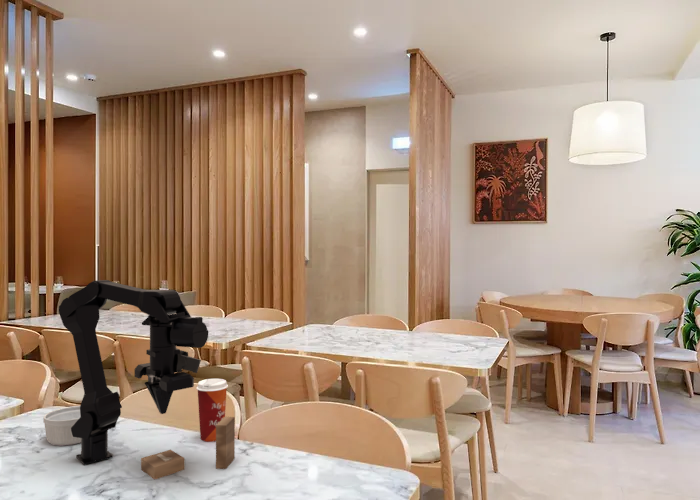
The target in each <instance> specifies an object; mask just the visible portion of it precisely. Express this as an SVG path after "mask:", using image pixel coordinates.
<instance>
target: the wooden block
mask: <svg viewBox="0 0 700 500" xmlns="http://www.w3.org/2000/svg"><path fill="white" fill-rule="evenodd" d="M235 423H236V418H235V416H225V417H224V418H223V419H222V420H221V421H220V422H219V423H218V424H217V425H216V441H215V469H217V470H227V469H228V468H229V466H231V464H232V463H233V462H234V460H235V458H236V457H235V455H236V452H235V448H236V444H235V440H236V437H235V436H236V434H235V433H236V432H235V431H236V429H235V427H236V425H235Z"/></svg>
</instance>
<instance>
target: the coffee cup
mask: <svg viewBox="0 0 700 500" xmlns="http://www.w3.org/2000/svg"><path fill="white" fill-rule="evenodd" d="M228 387H229V385H228V383H227V380H226V379H223V378H206V379H203V380H199V381H198V383H197V386H196V388H195V389H196V390H197V398H198V399H197V401H198V402H197V403H198V404H197V405H198V419H199V420H198V421H199V435H200V440H201V441H202V442H205V443H206V442H207V443H209V442H211V443H213V442H216V425H217V424H218V423H219V422H220V421H221V420H222V419H223V418H224V417H226V406H227V388H228Z"/></svg>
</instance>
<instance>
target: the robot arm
mask: <svg viewBox="0 0 700 500" xmlns="http://www.w3.org/2000/svg"><path fill="white" fill-rule="evenodd" d="M107 301H113V302H118V303H121V304H125V305H130V306H133V307H136V308H138V310H140V312H142V313H144V314H146V315H148V316H147V317H146V318H145V319H144V320H143V321H142V322H141V325H142V326H149V349H146V355H147V356H149V362H148V363H140V364H137V366H135V368H134V378H136V379H142V377H143V376H146V377H147V381H145V382H144V386H145V387H146V388H147V390H148V393H149V394H150V396H151V398H152V400H153V402H154V404H155V406H156V408H157V410H158V412H159V414H161V415H164V414H166V413H167V411H168V409H169V408H168V407H169V404H170V402H171V398H172V395H173V393H174V391H180V390H185V389H190V388H191V389H192V388H193V387H194V386H195V384H194V383H195V380H194V379H195V377H194V376H192V374H190V373H187V372H185V371H189V372H192V373H194V374H197V373H198V371H199V368H200V364H201V362H202V360H201V359H200V358H197V357H192V356H190V355H189V351H185V350H180V347H181V348H195V349H201V348H203V347H204V346H205V345H206V344H207V341H208V339H209V330H208V326H207V325H206V324H205V323H204V322H203V317H202V316H195V317H191V314H190V312H189V311H188V309H187V308H186V306H185V304H184V303H183V301H182V300H181V296H180V295H179V292H178V291H176V290H174V289H144V288H140V287H137V286H136V287H135V286H131V285H127V284H121V283H118V282H113V281H111V280H109V279H103V280H102V279H100V280H99V279H98V280H92V281H91V282H89V283H88V284H86V286H85V287H84V288H81V289H79V290H77V291H76V292H73V293H72V294H70V295H69V297H66V298H64V299H63V300H62V301H61V303H60V305H58V312H59V316H60V319H61V322H62V324H63V326H64V328H65V329H66V330H67V331H68V332H70V334H72V338H73V343H74V348H75V353H76V358H77V362H78V368H79V373H80V378H81V383H82V387H83V393H84V394H83V397H82V399H81V403H80V405H79V406H80V416H81V417H80V418H79V419H78V421H77V422H76V423H75V424H74V425H73V426H72V427H71V432H72V435H73V437H77V438H81V443H80V448H81V449H80V451H81V452H80V453H79V454H76V455H75V456H76V457H75V458H76V459H77V460H78V461H79V462H80V463H81V464H82V465H84V466H85V465H90V464H94V463H96V462H97V463H98V462H101V461H104V460H107V459H111V458H113V457H114V456H113V454H112V453H111V452H110V451H109V450H108V449H109V448H108V447H109V446H108V441H109V439H108V438H109V437H108V436H109V435H108V434H109V432H108V431H109V430H111V429H114V428H116V425H117V423H118V420H119V417H121V414H122V412H121V411H122V410H121V409H122V408H123V405H122V404H121V401H120V394H119V392H118V391H115V392H113V391H112V390H111V389H110V388H109V387H108V385H107V378H106V374H105V371H104V365H103V360H102V354H101V351H100V347H99V341H98V337H97V333H96V329H97V326H98V323H99V321H100V317H101V316H100V309H102V307H104V306H105V305H106V304H107ZM178 347H179V348H178ZM183 370H184V371H183Z"/></svg>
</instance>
